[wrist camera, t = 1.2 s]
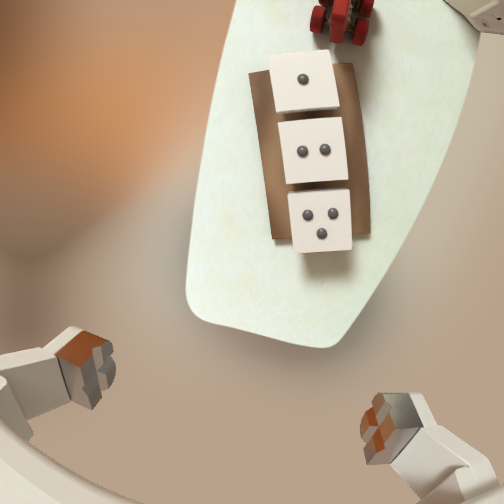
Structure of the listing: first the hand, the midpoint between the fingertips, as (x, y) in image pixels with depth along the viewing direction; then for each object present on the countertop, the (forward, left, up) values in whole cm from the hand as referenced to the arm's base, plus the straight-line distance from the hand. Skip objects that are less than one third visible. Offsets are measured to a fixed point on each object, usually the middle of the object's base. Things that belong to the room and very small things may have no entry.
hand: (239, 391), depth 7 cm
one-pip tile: (-3, -14, -28) cm, 31 cm away
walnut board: (-3, -6, -31) cm, 32 cm away
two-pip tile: (-3, -6, -28) cm, 29 cm away
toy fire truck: (-10, -25, -31) cm, 41 cm away
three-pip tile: (-3, +2, -28) cm, 28 cm away
